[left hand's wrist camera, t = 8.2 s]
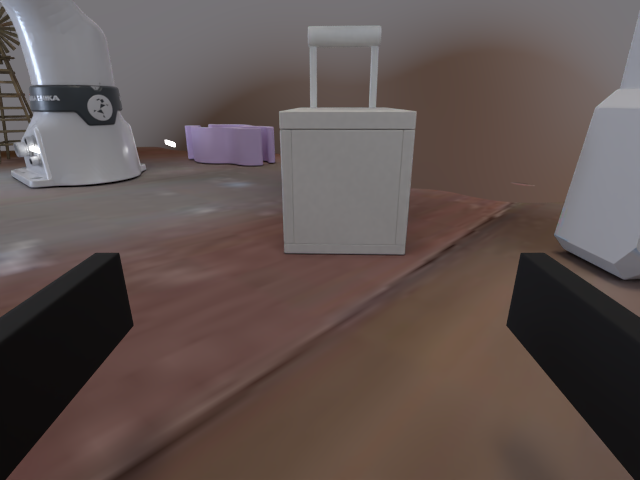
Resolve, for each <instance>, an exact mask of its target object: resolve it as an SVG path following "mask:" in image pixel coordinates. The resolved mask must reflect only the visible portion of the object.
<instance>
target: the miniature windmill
mask: <svg viewBox="0 0 640 480" xmlns="http://www.w3.org/2000/svg"><path fill="white" fill-rule="evenodd" d="M4 12H5V8H4V7H1V9H0V18H1V16H2V15H3V13H4ZM9 18H10V17H9V15H8V14H7V15H6V16H5V17H4V18H2V19H1V20H0V37H1V38H2V39H3V40H4V41H5V42H6V43H7V44H8V45H9V47H11V49H12V50H15V49H16V48H15V47H14V46H13V45H12V44H11V43H10V42H9V41H8V40H7V39H9V40H11V41H12V42H14V43H15V44H17V45H19V44H20V42H18V41H16V40H15V39H13V38H11V37H9V36H8V35H11V36H14V37H17V38H18V35H17V34H15V33H11V32H8V31H5V30H10V31H16V30H15V28H14V27H5V26H10V25H13V23H12V21H10V22H7V23H3V22H5V21H6V20H8V19H9ZM2 23H3V24H2ZM4 33H5V34H4ZM6 34H8V35H6ZM2 35H3V36H4V37H6V38H7V39H5V38H4V37H3V36H2ZM1 38H0V54H2V56H1V55H0V64H3V62H2V60H4V62H5V64H6V67H7V69H0V74H10V77H11V80H12V81H0V83H13V85H14V87H15V90H16V92H17V93H1V88H0V110H1V116H0V118H2V119H0V121H2V124H3V131H0V133H4V138H5V141H3V142H0V146H6V153H7V159H10V153H9V146H8V145H14V143H11V142H21V140H10V141H8V139H7V133H8V132H26V130H6V124H5V121H24V120H28V122H29V124H30V122H31V121H30V118H32V117H33V114H32V112H31V109H30V107H29V105H28V103H27V101H26V98H25V94H24V93H23V92H22V90H21V88H20V85H19V83H18V81H17V79H16V76H15V72H13V70H12V68H11V66H10V63H9V61H10V59H14V57H11V56H6V55H5V52H6V53H8V52H9V51H8V49H7V47H6V46H5V44H4V43H3V41H2V40H1ZM1 45H2V46H1ZM2 47H3V48H2ZM3 49H4V50H5V52H4V50H3ZM1 71H3V72H1ZM16 85H17V86H16ZM17 87H18V88H17ZM18 89H19V91H18ZM19 92H20V93H19ZM21 96H22V98H23V100H24V103H25V105H26V107H27V109H28V111H29V113H30V115H28V113H27V111H26V108H25V106H24V103H23V101H22V98H21ZM2 97H19V100H20V102H21V105H22V107H3V103H2ZM3 109H23V110H24V112H25V115H21V116H4V110H3ZM22 117H27V118H22ZM5 118H19V119H5ZM4 143H5V144H4ZM0 163H1V152H0Z"/></svg>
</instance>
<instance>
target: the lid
mask: <svg viewBox="0 0 640 480" xmlns="http://www.w3.org/2000/svg"><path fill="white" fill-rule="evenodd" d="M380 44H381V26H309V27H308V46H309V47H310V108H296V109H290V110H285V111H280V112H279V119H280V129H415V125H416V113H417V112H416V111H409V110H400V109H392V108H376V93H377V72H378V51H379V46H380ZM317 47H371V72H370V95H369V108H317Z"/></svg>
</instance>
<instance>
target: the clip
mask: <svg viewBox="0 0 640 480" xmlns="http://www.w3.org/2000/svg"><path fill="white" fill-rule="evenodd" d="M185 131H186V139H187V148H188V156H189V159H195V161H196V162H201V163H233V164H238V165H263V161H268V162H269V163H274V162H275V148H274V127H268V126H251V125H238V124H218V125H216V124H209V128H208V127H200V126H185Z"/></svg>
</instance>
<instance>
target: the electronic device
mask: <svg viewBox="0 0 640 480" xmlns="http://www.w3.org/2000/svg"><path fill="white" fill-rule="evenodd" d="M554 236H555V237H556V239H557V240H558V242H559V243H560V245H561V246H562V247H563V249H565V250H567V251H569V252H571V253H573V254H575V255H577V256H579V257H580V258H582V259H584V260H586V261H588V262H590V263H592V264H594V265H596V266H598V267H600V268H602V269H604V270H606V271H608V272H610V273H612V274H614V275H616V276H618V277H620V278H622V279H623V280H627V279H640V12H639V16H638V20H637V24H636V28H635V32H634V36H633V39H632V44H631V47H630V51H629V55H628V59H627V63H626V67H625V71H624V75H623V79H622V83H621V87H620V89H617V90H616V91H615V92H614V93H612V94H611V95H610V96H609V97H608V98H607V99H605V100H604V101H603V102H602V103H601V104H599V105H598V106H597V107H596V108H595V111H594V114H593V117H592V120H591V123H590V126H589V129H588V132H587V136H586V138H585V142H584V145H583V148H582V151H581V154H580V157H579V160H578V163H577V166H576V169H575V172H574V175H573V178H572V182H571V185H570V188H569V191H568V194H567V197H566V200H565V203H564V206H563V209H562V212H561V215H560V218H559V221H558V224H557V228H556V231H555V234H554Z"/></svg>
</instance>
